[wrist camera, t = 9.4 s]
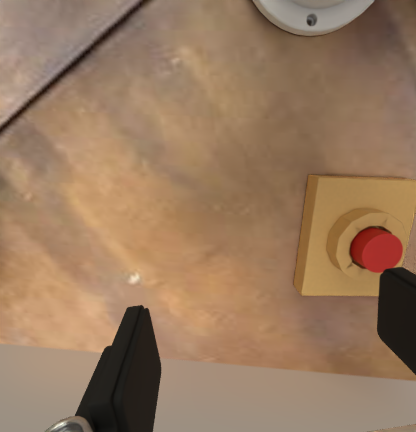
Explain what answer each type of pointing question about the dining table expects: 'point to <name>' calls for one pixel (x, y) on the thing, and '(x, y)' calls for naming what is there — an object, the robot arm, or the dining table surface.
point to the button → (376, 249)
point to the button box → (348, 230)
